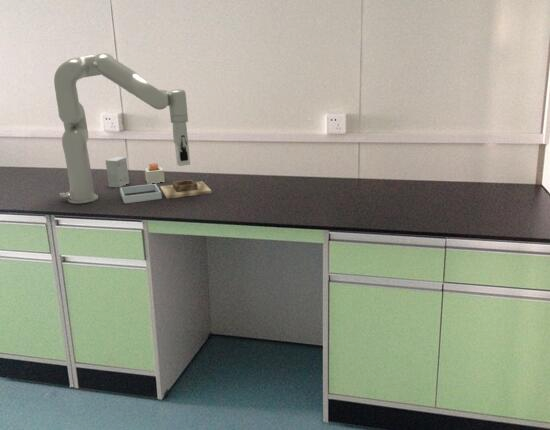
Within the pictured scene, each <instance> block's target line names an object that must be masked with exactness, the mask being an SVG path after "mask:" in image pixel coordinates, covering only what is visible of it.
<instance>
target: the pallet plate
mask: <svg viewBox="0 0 550 430" xmlns="http://www.w3.org/2000/svg"><path fill="white" fill-rule="evenodd" d="M159 190H160V191H161V193H162V194H163V195H164V197H165V199H168V200H169V199H175V198H176V199H177V198H183V197H191V196H198V195H207V194H212V189H211V188H210V187H209V186H208V185H206V184H205V182H204V181H202V180H201V181H195V180H194V179H193V178H192V179H184V180H177V181H172V184H168V185H167V184H166V185H159Z"/></svg>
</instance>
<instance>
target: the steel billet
mask: <svg viewBox="0 0 550 430" xmlns="http://www.w3.org/2000/svg"><path fill="white" fill-rule="evenodd" d="M186 143H187V142H186ZM181 145H183V144H181ZM189 146H190V145H189V143H188V144H187V145H186V147H187V154H188V160H187V161H181V159H180V152H181V151H180V145H179V146H177V145H176V144H175V143H174V147H175V156H176V157H175V158H176V164H177V165H178V166H179V167H183V166H189V165H190V166H191V158H190V149H189V148H190V147H189ZM181 147H183V146H181Z"/></svg>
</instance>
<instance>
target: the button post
mask: <svg viewBox="0 0 550 430" xmlns="http://www.w3.org/2000/svg"><path fill="white" fill-rule="evenodd" d="M144 175H145V176H144V177H145V181H147V182H146V183H147V185H148V184H152V183H155V184H161V183H160V182H163V183H165V170H164V169H163V168H162V167H161V166H158V170H155V171H150V167H147V168H144Z"/></svg>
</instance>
